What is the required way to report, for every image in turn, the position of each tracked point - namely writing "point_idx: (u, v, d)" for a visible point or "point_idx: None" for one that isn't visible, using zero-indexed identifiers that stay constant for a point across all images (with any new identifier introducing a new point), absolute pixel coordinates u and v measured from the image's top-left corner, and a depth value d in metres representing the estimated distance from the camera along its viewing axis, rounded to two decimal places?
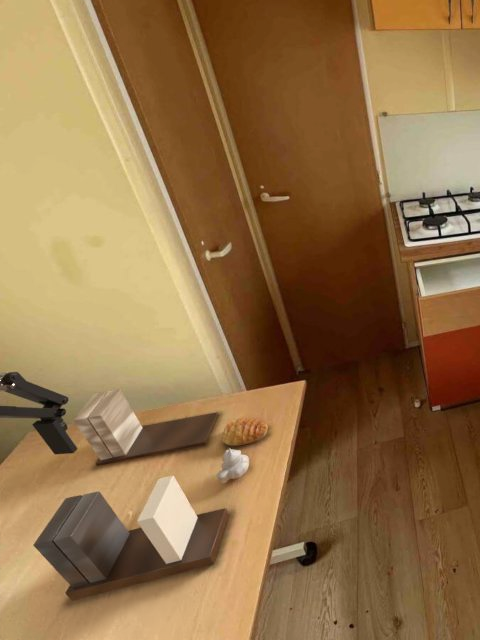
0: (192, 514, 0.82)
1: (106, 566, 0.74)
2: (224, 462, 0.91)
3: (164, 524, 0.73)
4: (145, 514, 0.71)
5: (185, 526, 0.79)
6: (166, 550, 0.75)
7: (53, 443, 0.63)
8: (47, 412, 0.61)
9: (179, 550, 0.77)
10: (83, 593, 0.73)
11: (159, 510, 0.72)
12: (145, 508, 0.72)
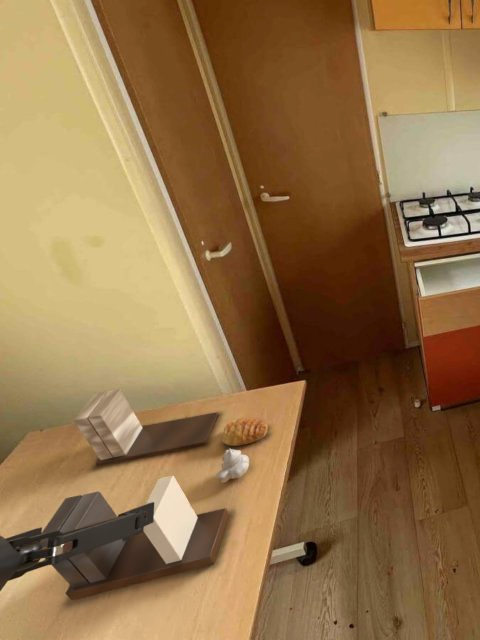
0: (192, 514, 0.82)
1: (106, 566, 0.74)
2: (224, 462, 0.91)
3: (164, 524, 0.73)
4: None
5: (185, 526, 0.79)
6: (166, 550, 0.75)
7: None
8: None
9: (179, 550, 0.77)
10: (83, 593, 0.73)
11: (159, 510, 0.72)
12: None
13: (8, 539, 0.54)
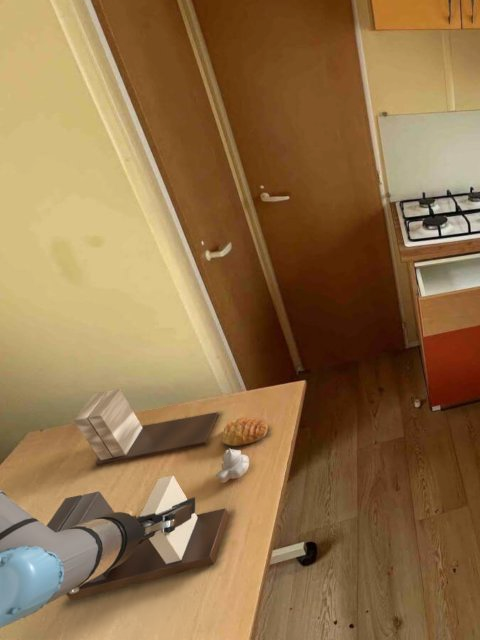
0: (192, 514, 0.82)
1: None
2: (224, 462, 0.91)
3: None
4: (145, 514, 0.71)
5: (185, 526, 0.79)
6: (166, 550, 0.75)
7: None
8: None
9: (179, 550, 0.77)
10: (83, 593, 0.73)
11: (159, 510, 0.72)
12: (145, 508, 0.72)
13: None
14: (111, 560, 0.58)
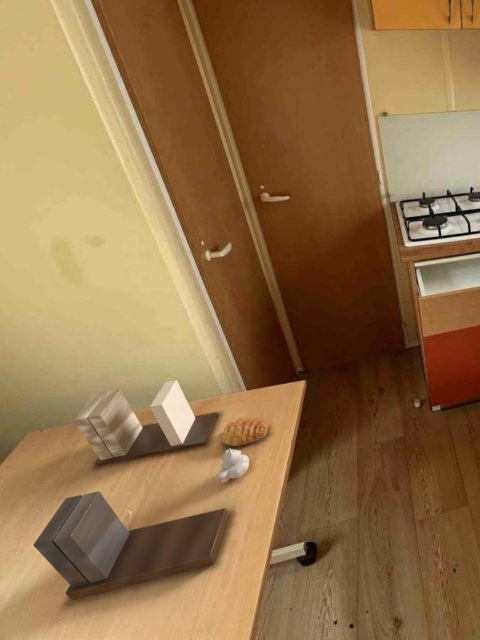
0: (191, 414, 1.05)
1: (106, 566, 0.74)
2: (224, 462, 0.91)
3: (170, 413, 0.97)
4: (155, 402, 0.95)
5: (185, 420, 1.03)
6: (171, 434, 0.98)
7: None
8: None
9: (181, 436, 1.00)
10: (83, 593, 0.73)
11: (166, 401, 0.96)
12: (155, 399, 0.96)
13: None
14: None
